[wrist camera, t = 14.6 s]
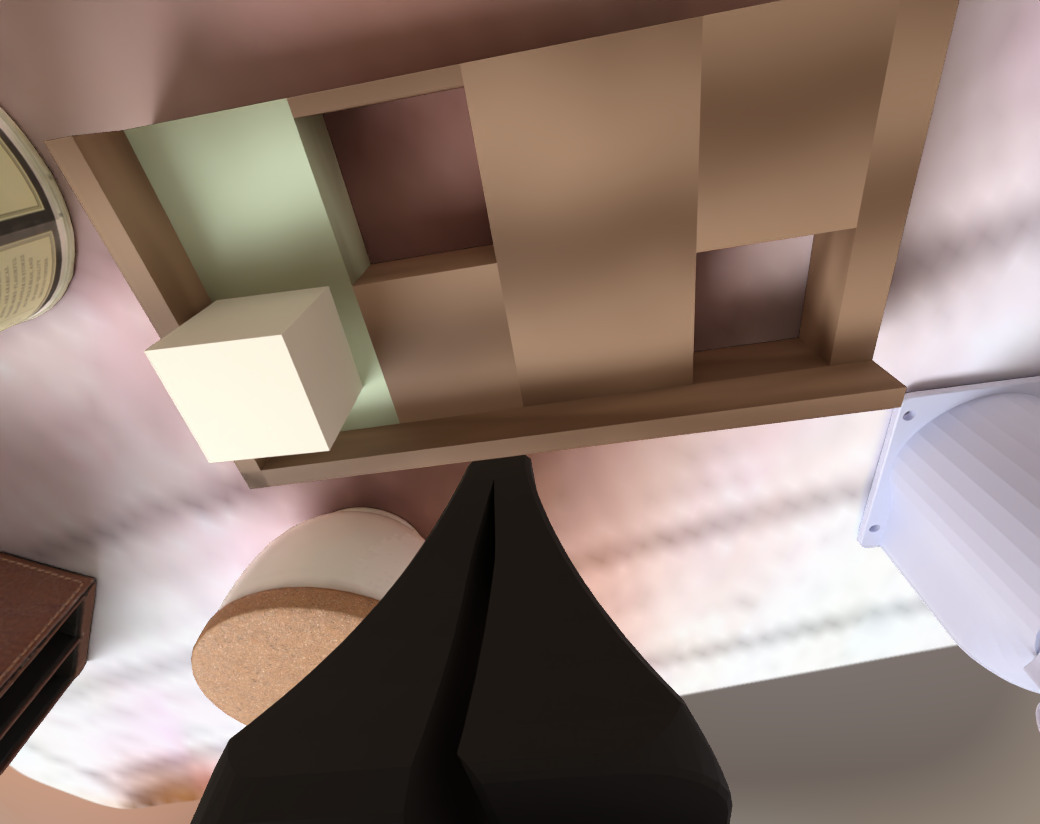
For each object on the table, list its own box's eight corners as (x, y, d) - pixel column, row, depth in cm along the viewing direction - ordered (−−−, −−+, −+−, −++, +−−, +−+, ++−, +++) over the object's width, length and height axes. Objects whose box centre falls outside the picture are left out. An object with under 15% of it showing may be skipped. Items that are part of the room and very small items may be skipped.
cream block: (363, 387, 19) (329, 450, 16) (263, 398, 20) (209, 463, 16) (328, 285, 17) (281, 334, 14) (216, 299, 17) (143, 351, 14)
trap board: (833, 349, 21) (901, 407, 17) (294, 423, 23) (250, 489, 19) (904, -20, 15) (1036, -56, 11) (151, 129, 17) (43, 141, 13)
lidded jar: (300, 440, 24) (191, 615, 16) (501, 520, 27) (493, 702, 19) (248, 572, 29) (146, 755, 21) (422, 628, 32) (389, 807, 24)
